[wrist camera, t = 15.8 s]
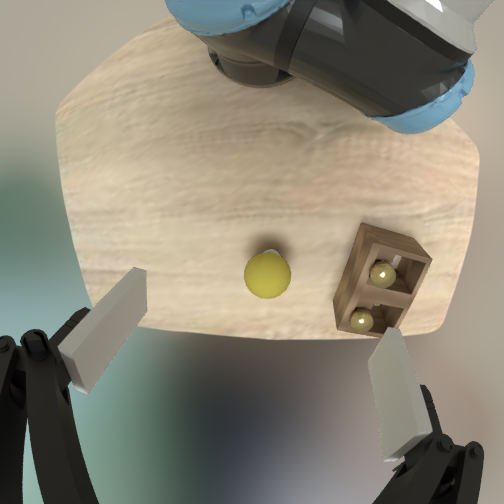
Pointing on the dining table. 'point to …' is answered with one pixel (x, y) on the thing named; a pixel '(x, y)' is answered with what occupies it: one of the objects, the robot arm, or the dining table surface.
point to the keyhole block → (362, 288)
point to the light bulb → (267, 274)
